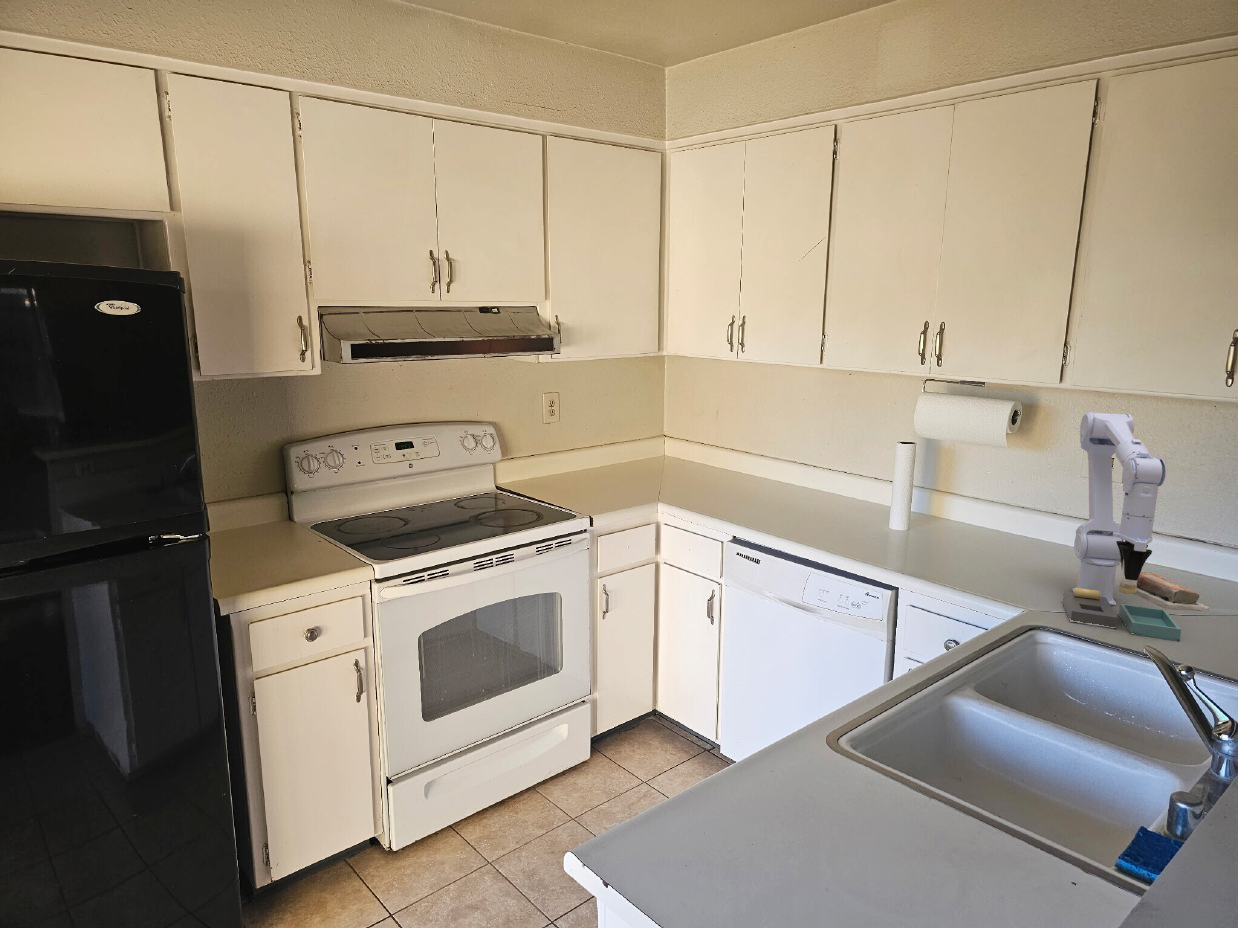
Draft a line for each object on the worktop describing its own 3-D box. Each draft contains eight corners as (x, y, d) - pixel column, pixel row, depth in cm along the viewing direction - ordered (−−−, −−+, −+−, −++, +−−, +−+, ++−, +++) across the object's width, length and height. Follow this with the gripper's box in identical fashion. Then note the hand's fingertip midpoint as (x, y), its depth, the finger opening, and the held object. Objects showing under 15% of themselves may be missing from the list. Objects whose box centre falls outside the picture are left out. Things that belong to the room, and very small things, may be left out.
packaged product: (1120, 569, 203) (1160, 570, 203) (1118, 587, 204) (1157, 589, 204) (1169, 590, 185) (1212, 592, 185) (1166, 610, 186) (1209, 612, 186)
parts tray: (1118, 614, 180) (1120, 603, 180) (1163, 621, 177) (1165, 609, 176) (1130, 633, 167) (1132, 622, 167) (1179, 641, 164) (1181, 629, 164)
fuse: (1118, 589, 175) (1122, 557, 174) (1134, 591, 173) (1138, 559, 172) (1120, 592, 172) (1124, 560, 171) (1136, 595, 171) (1141, 562, 170)
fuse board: (1062, 601, 188) (1064, 583, 187) (1104, 607, 184) (1107, 588, 184) (1070, 622, 173) (1073, 601, 172) (1116, 629, 170) (1119, 608, 169)
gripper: (1111, 506, 178) (1103, 566, 180) (1121, 518, 165) (1112, 582, 167) (1148, 510, 176) (1140, 571, 177) (1162, 522, 162) (1153, 588, 164)
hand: (1129, 577), depth 172 cm, fingers closed on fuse, 3 cm apart
